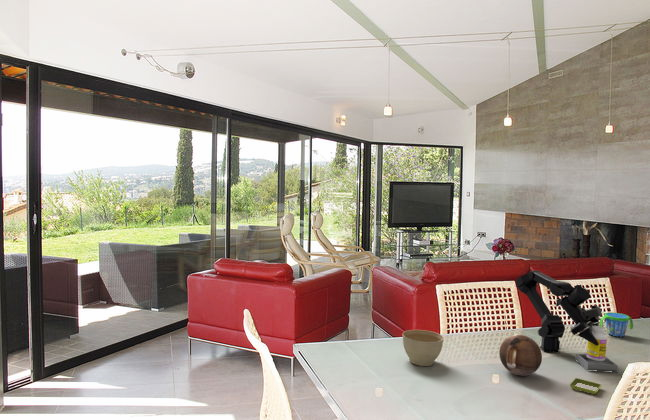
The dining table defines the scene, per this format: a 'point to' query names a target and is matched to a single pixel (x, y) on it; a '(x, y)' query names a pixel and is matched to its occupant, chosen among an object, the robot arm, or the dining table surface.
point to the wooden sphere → (520, 355)
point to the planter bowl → (422, 346)
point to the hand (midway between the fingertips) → (600, 343)
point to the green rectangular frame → (585, 384)
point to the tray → (596, 363)
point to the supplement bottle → (600, 350)
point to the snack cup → (616, 323)
